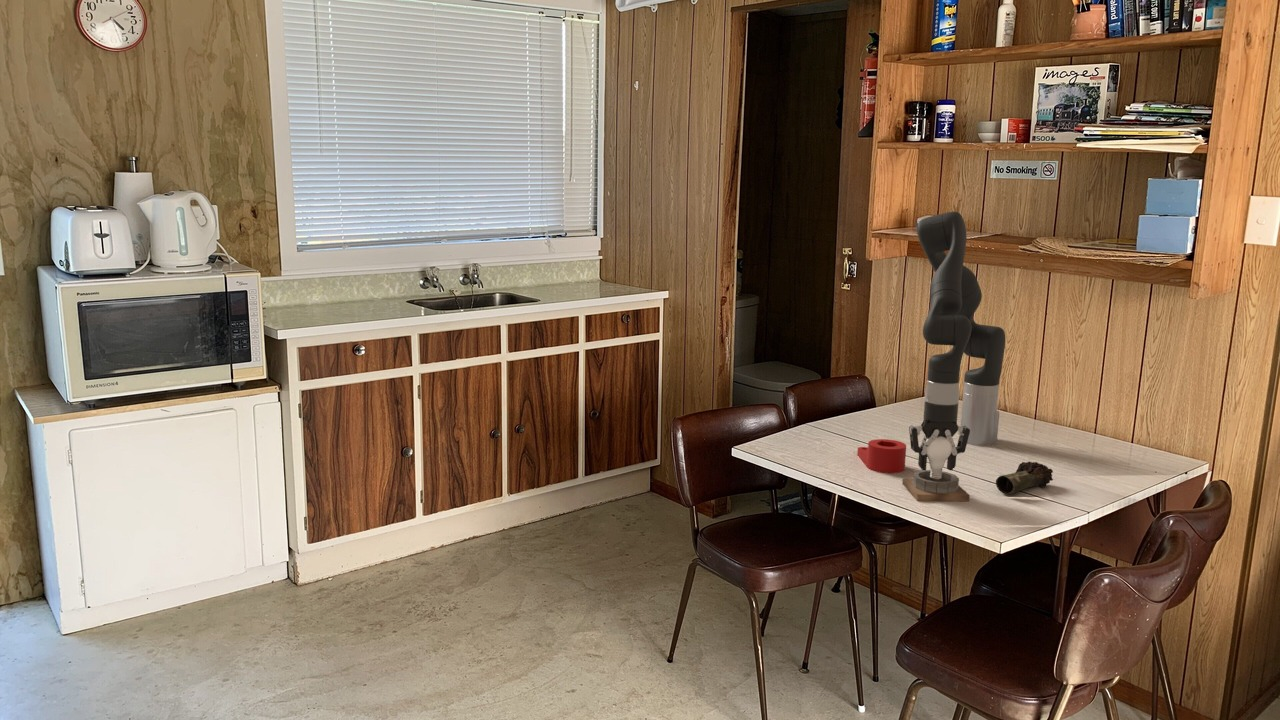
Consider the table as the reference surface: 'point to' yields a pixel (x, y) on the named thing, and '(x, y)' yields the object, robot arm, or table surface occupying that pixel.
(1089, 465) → the table surface
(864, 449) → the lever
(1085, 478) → the table surface
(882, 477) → the table surface
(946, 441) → the lightbulb
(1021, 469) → the vacuum brush nozzle
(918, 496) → the socket board
